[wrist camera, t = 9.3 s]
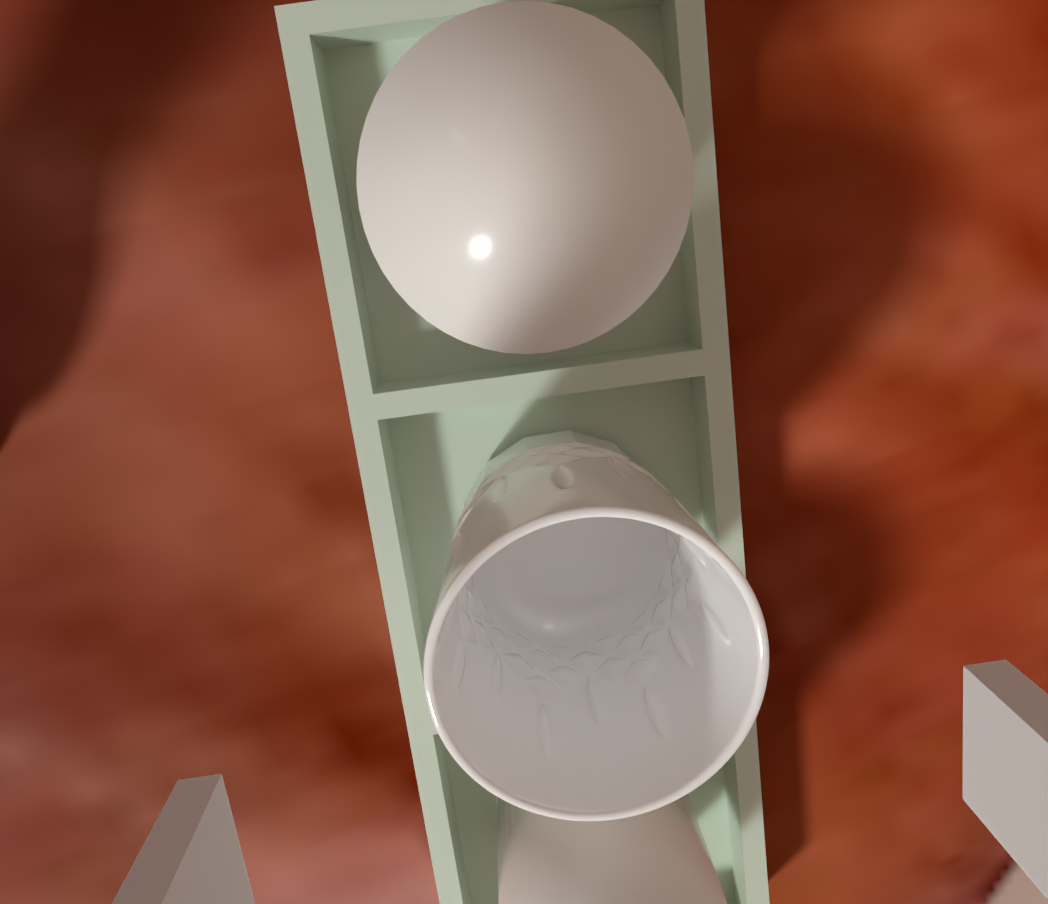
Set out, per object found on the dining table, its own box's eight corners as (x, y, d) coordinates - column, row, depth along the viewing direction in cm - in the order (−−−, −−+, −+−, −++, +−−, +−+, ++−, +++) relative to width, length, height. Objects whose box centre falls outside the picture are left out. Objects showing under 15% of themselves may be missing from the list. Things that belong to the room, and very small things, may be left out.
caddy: (296, 30, 26) (274, 5, 23) (678, -21, 26) (700, -51, 23) (459, 938, 34) (457, 999, 31) (750, 898, 34) (772, 955, 31)
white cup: (662, 394, 28) (754, 480, 19) (688, 612, 30) (783, 793, 21) (424, 432, 28) (392, 539, 19) (466, 649, 30) (456, 847, 21)
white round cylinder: (382, 97, 26) (327, 25, 17) (614, 65, 26) (679, -21, 17) (419, 330, 27) (387, 374, 19) (637, 301, 28) (706, 330, 19)
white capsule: (484, 735, 31) (482, 929, 22) (676, 707, 31) (750, 890, 22) (510, 897, 33) (518, 1136, 24) (693, 871, 33) (767, 1101, 24)
